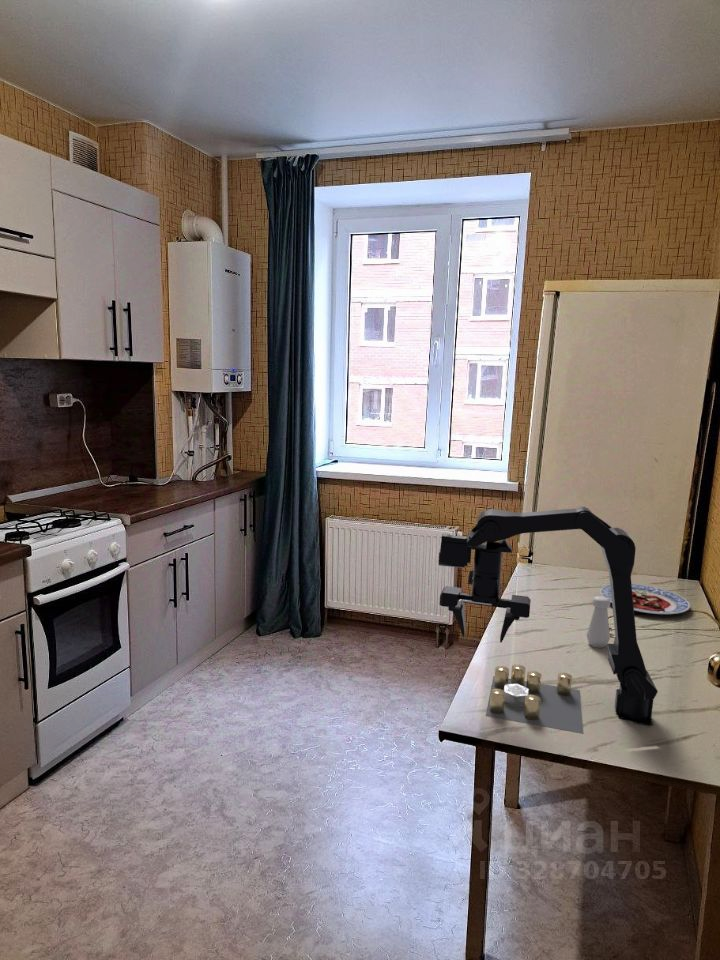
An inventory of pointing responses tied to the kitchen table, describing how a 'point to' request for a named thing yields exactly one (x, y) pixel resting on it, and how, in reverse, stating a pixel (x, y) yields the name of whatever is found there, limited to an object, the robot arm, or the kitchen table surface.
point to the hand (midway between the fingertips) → (482, 638)
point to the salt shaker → (599, 623)
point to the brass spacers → (532, 684)
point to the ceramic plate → (653, 600)
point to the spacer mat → (547, 709)
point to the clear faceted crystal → (515, 694)
